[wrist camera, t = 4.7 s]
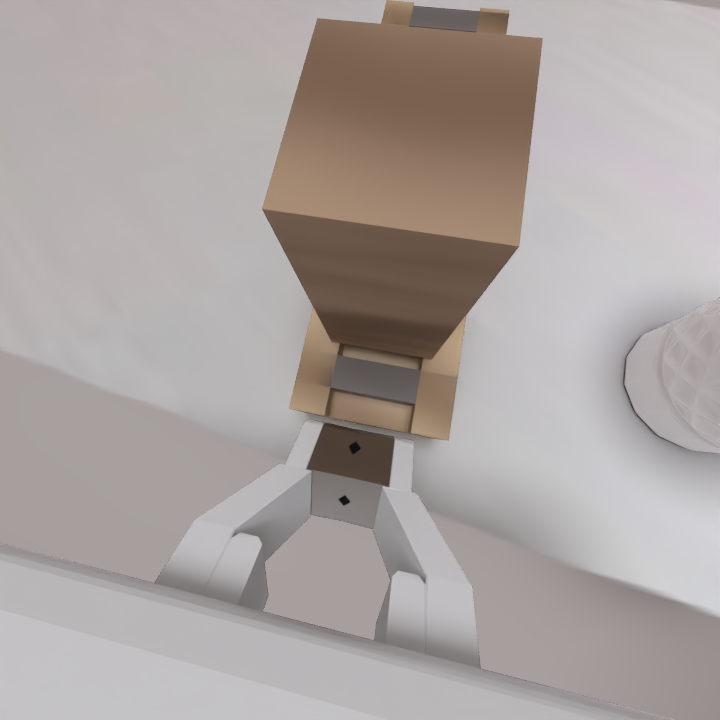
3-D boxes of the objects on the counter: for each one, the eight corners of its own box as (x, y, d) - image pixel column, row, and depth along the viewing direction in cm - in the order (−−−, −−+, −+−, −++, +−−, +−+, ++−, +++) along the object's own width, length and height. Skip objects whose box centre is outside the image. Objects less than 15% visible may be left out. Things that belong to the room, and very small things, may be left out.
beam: (434, 438, 17) (448, 440, 14) (306, 412, 18) (288, 408, 14) (488, 76, 22) (509, 10, 18) (385, 65, 23) (386, 0, 19)
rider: (426, 366, 16) (518, 246, 5) (335, 349, 16) (262, 208, 6) (440, 280, 17) (542, 38, 6) (353, 266, 17) (317, 18, 7)
